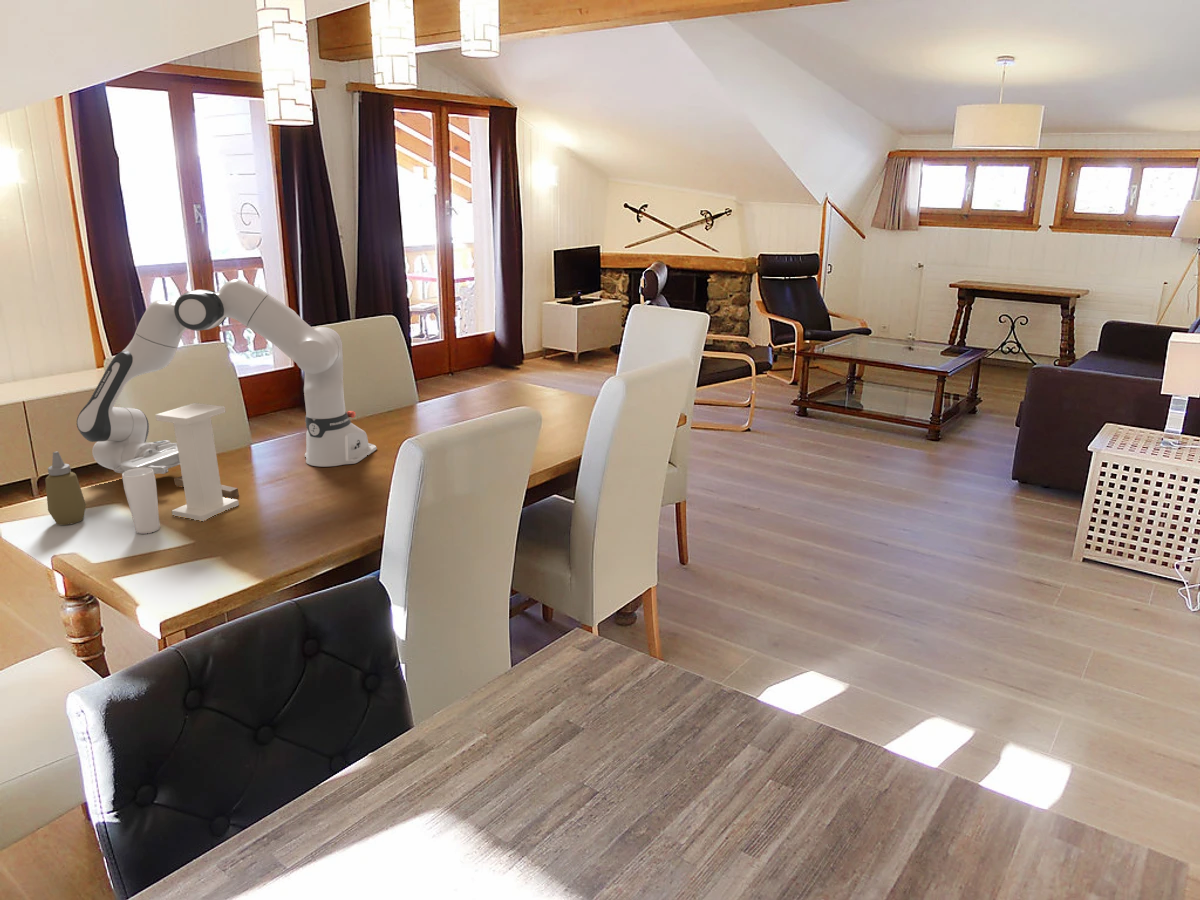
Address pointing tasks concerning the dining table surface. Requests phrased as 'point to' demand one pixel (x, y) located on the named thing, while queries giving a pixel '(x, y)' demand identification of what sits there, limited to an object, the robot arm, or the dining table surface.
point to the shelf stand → (198, 460)
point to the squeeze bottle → (64, 493)
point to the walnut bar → (226, 490)
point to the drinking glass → (142, 499)
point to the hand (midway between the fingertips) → (180, 464)
